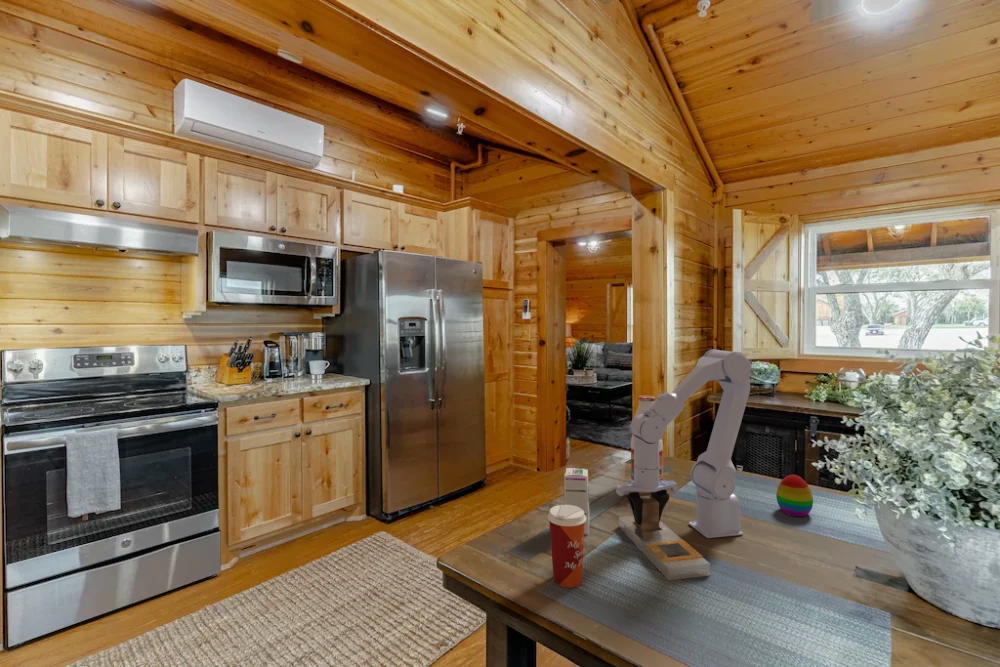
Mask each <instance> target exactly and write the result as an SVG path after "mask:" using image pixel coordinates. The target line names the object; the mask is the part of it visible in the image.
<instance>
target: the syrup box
mask: <svg viewBox="0 0 1000 667" xmlns="http://www.w3.org/2000/svg"><path fill="white" fill-rule="evenodd" d="M563 474H564V475H563V481H564V482H563V484H564V488H563V490H564V491H563V492H564V505H573V506H577V507H579V508H581V509H582V510H583V511H584V515H585V516H586V521H585V527H584V535H587V536H588V535H589V534H590V494H589V491H590V490H589V489H590V488H589V470H588V468H582V467H569V468H568V467H566V468H565V471H564V473H563Z"/></svg>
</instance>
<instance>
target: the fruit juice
mask: <svg viewBox="0 0 1000 667" xmlns="http://www.w3.org/2000/svg"><path fill="white" fill-rule="evenodd" d="M637 401H638V406H637V408H636V411H635V414H634V416H633V418H634V417H635V416H637V415H640V414H644V412H643V411H644V410H645V409H648V408H649V407H650V406H651V405H652V404H653V403H654V402H655V401H656V399H655V396H654V395H649V394H648V395H645V394H644V395H642V394H641V395H638V396H637ZM633 418H632V420H633ZM632 420H631V423H632ZM631 423H630V424H631ZM663 443H664V442H663V438H662V439H660V440H659V481H664V444H663ZM630 481H631V482H633V481H634V436H633V435H632V436H631V438H630Z"/></svg>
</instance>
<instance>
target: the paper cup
mask: <svg viewBox="0 0 1000 667" xmlns="http://www.w3.org/2000/svg"><path fill="white" fill-rule="evenodd" d="M547 520H548V521H549V534H550V547H551V548H550V549H551V562H552V574H553V581H554V582H555V584H556V585H557V586H559V587H562V588H566V589H567V588H568V589H572V588H577V587H578V586H580V585H581V584H582V581H583V580H582V579H583V569H584V568H583V566H584V546H585V544H584V543H585V534H584V527H585V521H586V516H585V515H584V511H583V510H582V509H581V508H579V507H577V506H573V505H565V504H557V505H555V506H552V507H551V508H550V510H549V512H548V514H547Z"/></svg>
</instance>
